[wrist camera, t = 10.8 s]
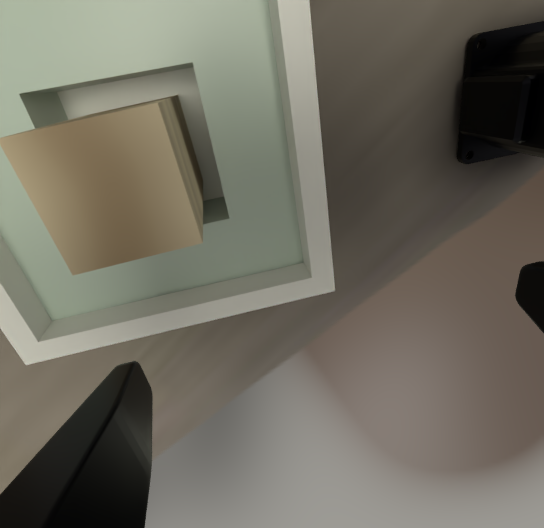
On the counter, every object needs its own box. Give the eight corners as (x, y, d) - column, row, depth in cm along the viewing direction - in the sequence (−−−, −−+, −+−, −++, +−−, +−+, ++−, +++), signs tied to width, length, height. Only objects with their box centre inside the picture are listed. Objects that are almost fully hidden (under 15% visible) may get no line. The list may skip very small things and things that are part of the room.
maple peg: (177, 94, 16) (157, 102, 9) (202, 180, 18) (202, 242, 11) (90, 114, 16) (-4, 138, 8) (125, 198, 17) (72, 275, 10)
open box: (263, -57, 15) (297, -136, 9) (302, 240, 21) (335, 290, 16) (-85, -3, 14) (-267, -57, 8) (71, 292, 20) (25, 365, 15)
